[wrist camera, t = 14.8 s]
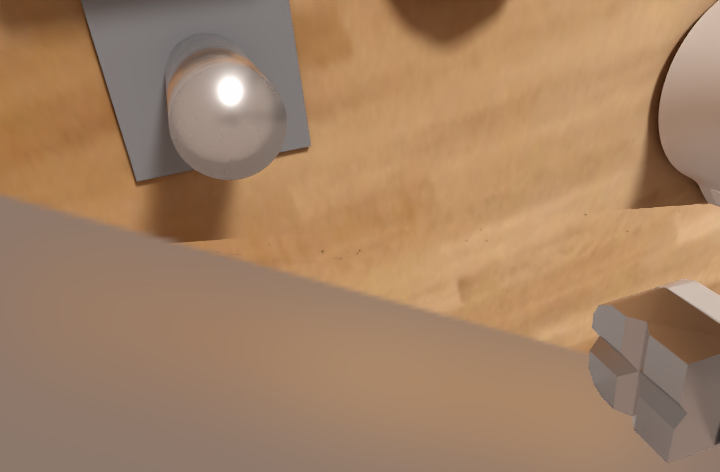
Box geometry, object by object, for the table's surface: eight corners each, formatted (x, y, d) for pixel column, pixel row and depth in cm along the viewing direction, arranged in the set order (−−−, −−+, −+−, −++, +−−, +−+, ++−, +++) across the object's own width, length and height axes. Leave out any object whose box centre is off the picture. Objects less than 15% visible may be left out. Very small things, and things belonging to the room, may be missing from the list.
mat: (281, -40, 30) (282, -40, 30) (309, 144, 35) (310, 146, 34) (77, -14, 28) (76, -13, 28) (137, 179, 33) (136, 181, 32)
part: (242, 26, 30) (276, 56, 22) (258, 110, 33) (295, 167, 24) (154, 40, 29) (154, 76, 21) (177, 125, 32) (185, 190, 23)
